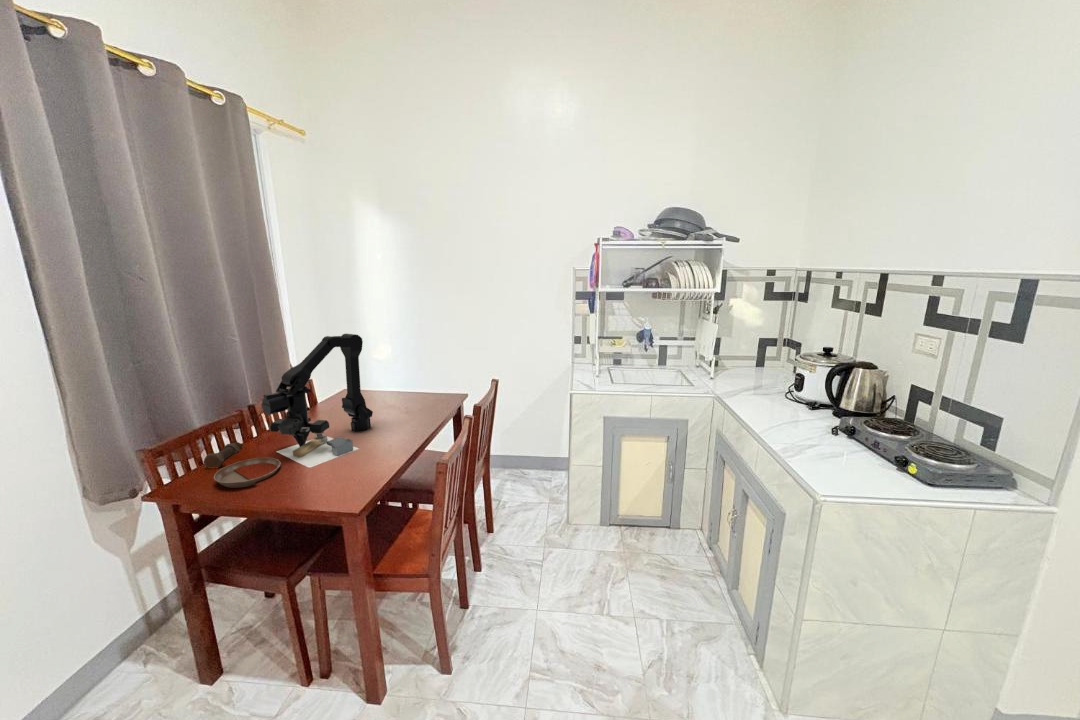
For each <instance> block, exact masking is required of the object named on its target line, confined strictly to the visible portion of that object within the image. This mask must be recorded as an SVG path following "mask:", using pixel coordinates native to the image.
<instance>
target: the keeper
mask: <svg viewBox="0 0 1080 720" xmlns="http://www.w3.org/2000/svg"><path fill="white" fill-rule="evenodd" d="M327 445H329V446H332V453H333V455H335V456H339V457H341V456H340V455H342V456H344V455H343V454H345V453H347V454H349V453H348V452H350V451H352V452H354V451H353V445H354V444H353V440H352V439H349V438H344V437H342V436H338V437H335V438H333V439H332V440H329V441H327ZM350 453H351V452H350ZM345 455H346V454H345Z"/></svg>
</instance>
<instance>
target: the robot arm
mask: <svg viewBox="0 0 1080 720" xmlns="http://www.w3.org/2000/svg"><path fill="white" fill-rule="evenodd" d="M363 342H364V341H363V338H362V337H361V336H360V334H359V335H358V334H353V333H343V334H341V335H333V336H329V335H326V336H324V337H323V338H322V339H321V341H320V342H319V343H318V344H317V345H316V346H315V347H314V348H313V349H312V350H311V352H309V353H308V354H307V356H306V357H305V358H304V359H303V360H302V361H301V362H300V363H298V364H297V365H295V366H293V367H291V368H289V369H288V370H287V371H285V372H284V373H283V374H282V376H281V381H280V383H279V385H278V386H277V388H276V390H275V392H273V393H266V394H263V399H262V401H261V408H262V411H263V413H264V414H265V415H266V416H270V415H275V414H278V413H281V412H282V413H283V412H285V411H286V413H285V418H278V419H276V420H275V421H273V422H271V423H270V425H269V431H270V432H271V433H272V432H275V433H278V432H279V433H280V434H281V435H283V436H284V435H290V436H292V437H293V438H294V439H295V441H296V442H297V444H299V446H300V447H301V446H302V445H304V444H305V443H306V441H308V440H307V439H308V437H309V435H310V433H311V434H314V433H322V432H323V431H324V432H325V431H326V430H328V429H329V428H330V423H329V422H330V421H328V420H327V419H326V420H324V419H323V420H322V419H317V420H316V421H314V422H311V421H312V420H311V417H309V415H308V414H309V413H308V411H310V407H309V406H308V404H307V396H306V394H310V393H311V392H312V389H309V388H308V387H307V386H306V385H307V383H309V381H310V379H311V375H312V373H313V372H314V370H315V369H316V368H317V367H318V366H319V365H320V363H322V362H323V360H324V359H325V358H326V357H327V356H328V355H329V354H330V353H331V352H332V350H334V348H340V351H341V353H342V354H343V356H344V361H345V362H344V363H345V377H346V378H345V379H346V394H345V397H342V398H341V403H342V405H341V408H342V409H343V411H344V412H345V413H346V414H347V415H348V417H350V418H351V422H350V426H351V427H350V428H351V432H352V433H359V432H361V433H362V432H365V431H368V430H370V428H371V427H372V424H371V418H372V417H373V413H374V412H373V411H372V409H370V408H369V407H368V406H367V405H366V401H365V400H366V399H365V398H364V396H363V394H362V391H361V375H360V360H359V358H360V355H361V354H362V353H361V352H362V350H363ZM322 434H323V433H322Z"/></svg>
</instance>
